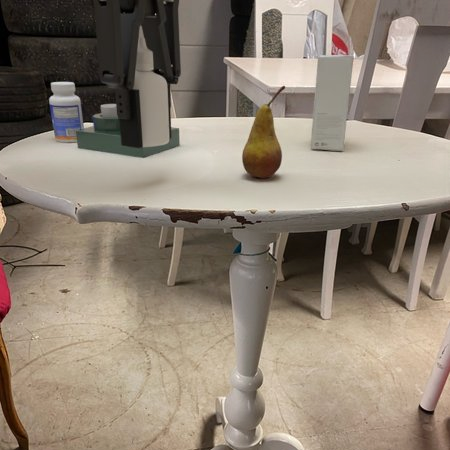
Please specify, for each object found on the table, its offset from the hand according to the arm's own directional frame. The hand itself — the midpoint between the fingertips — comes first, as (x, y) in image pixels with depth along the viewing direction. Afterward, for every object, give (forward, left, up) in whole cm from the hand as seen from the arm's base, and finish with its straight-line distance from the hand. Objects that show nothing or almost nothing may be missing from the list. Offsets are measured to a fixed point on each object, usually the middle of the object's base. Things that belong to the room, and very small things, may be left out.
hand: (147, 141), depth 60 cm
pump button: (-20, +17, -1) cm, 26 cm away
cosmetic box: (+13, +36, -6) cm, 39 cm away
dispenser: (-17, +17, -6) cm, 24 cm away
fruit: (+11, +11, -6) cm, 17 cm away
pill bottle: (-30, +16, -6) cm, 34 cm away
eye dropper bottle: (0, 0, -1) cm, 1 cm away
